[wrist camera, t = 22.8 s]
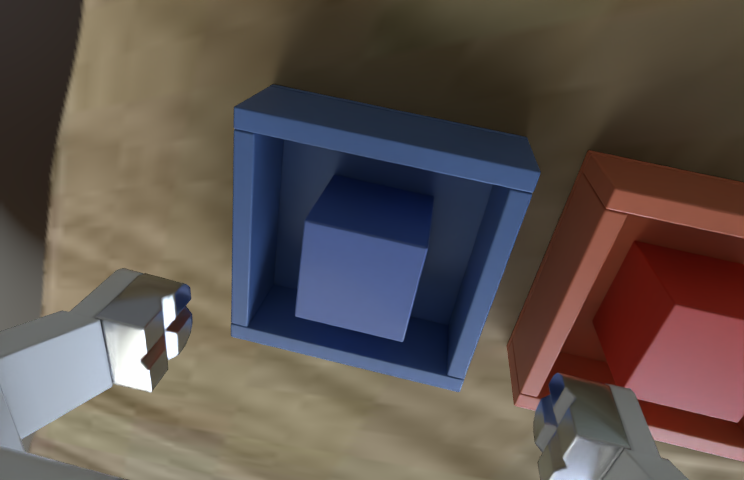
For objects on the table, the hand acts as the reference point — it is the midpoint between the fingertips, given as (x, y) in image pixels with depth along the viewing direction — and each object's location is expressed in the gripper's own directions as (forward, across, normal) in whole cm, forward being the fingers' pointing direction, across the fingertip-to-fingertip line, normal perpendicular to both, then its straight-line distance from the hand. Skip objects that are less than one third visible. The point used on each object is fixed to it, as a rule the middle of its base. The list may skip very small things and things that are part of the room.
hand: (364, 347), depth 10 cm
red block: (+11, -12, +3) cm, 17 cm away
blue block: (+11, +1, +3) cm, 12 cm away
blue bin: (+11, +1, +3) cm, 12 cm away
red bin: (+11, -12, +3) cm, 17 cm away
